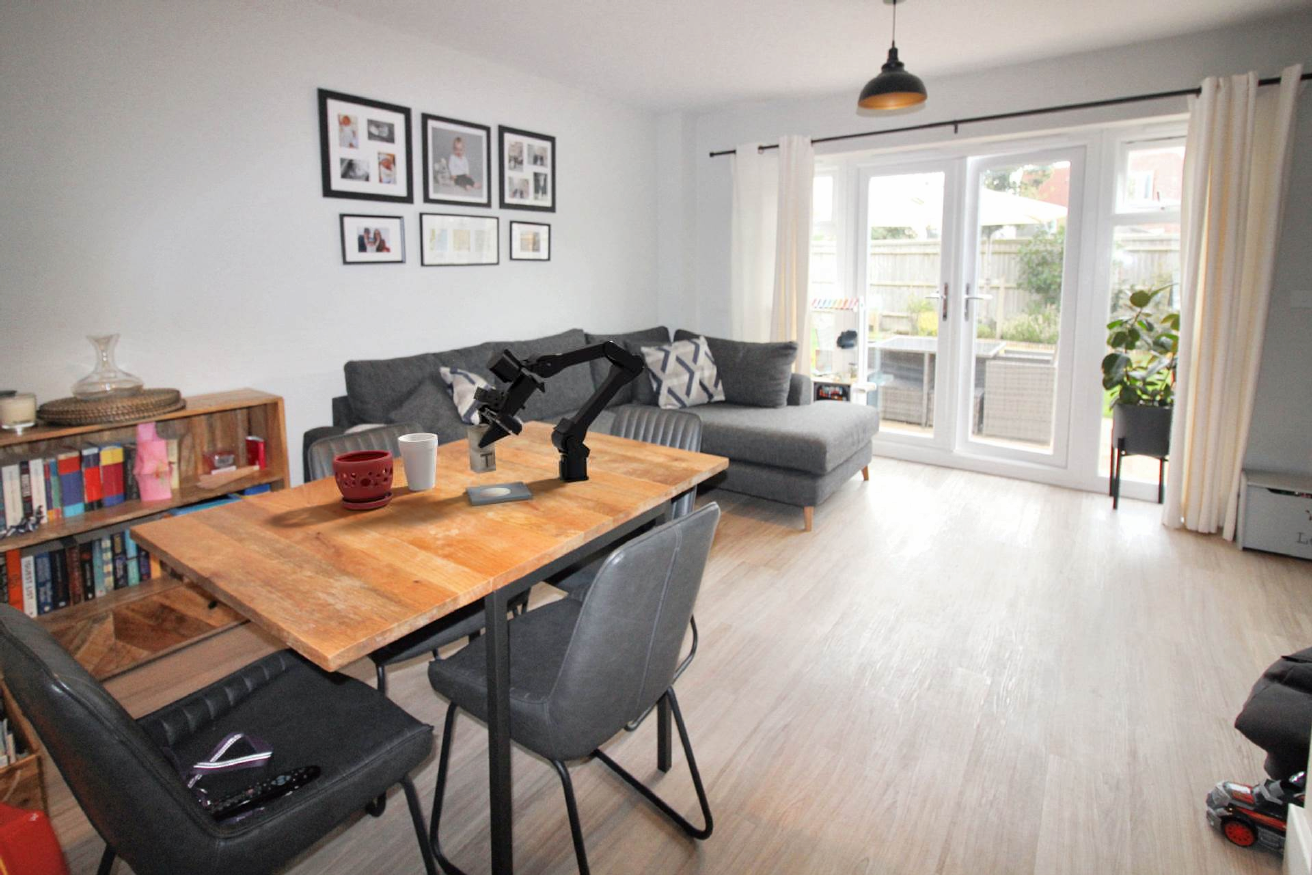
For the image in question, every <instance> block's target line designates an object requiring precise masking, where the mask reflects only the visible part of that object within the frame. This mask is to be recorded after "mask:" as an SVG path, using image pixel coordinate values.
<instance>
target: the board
mask: <svg viewBox="0 0 1312 875" xmlns="http://www.w3.org/2000/svg"><path fill="white" fill-rule="evenodd" d="M465 492H466V494H467V496H468V498H469V500H470V503H471V504H472V506H473V507H474V506H481V505H482V506H483V505H491V504H499V503H506V502H514V501H515V502H517V501H524V500H532V499H533V493H532V492H531V491H530V489H529V488H528V486H526V485H525V483H524V481H521V480H520V481H512V482H502V483H493V484H486V485H485V484H484V485H476V486H468V487H465Z"/></svg>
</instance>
